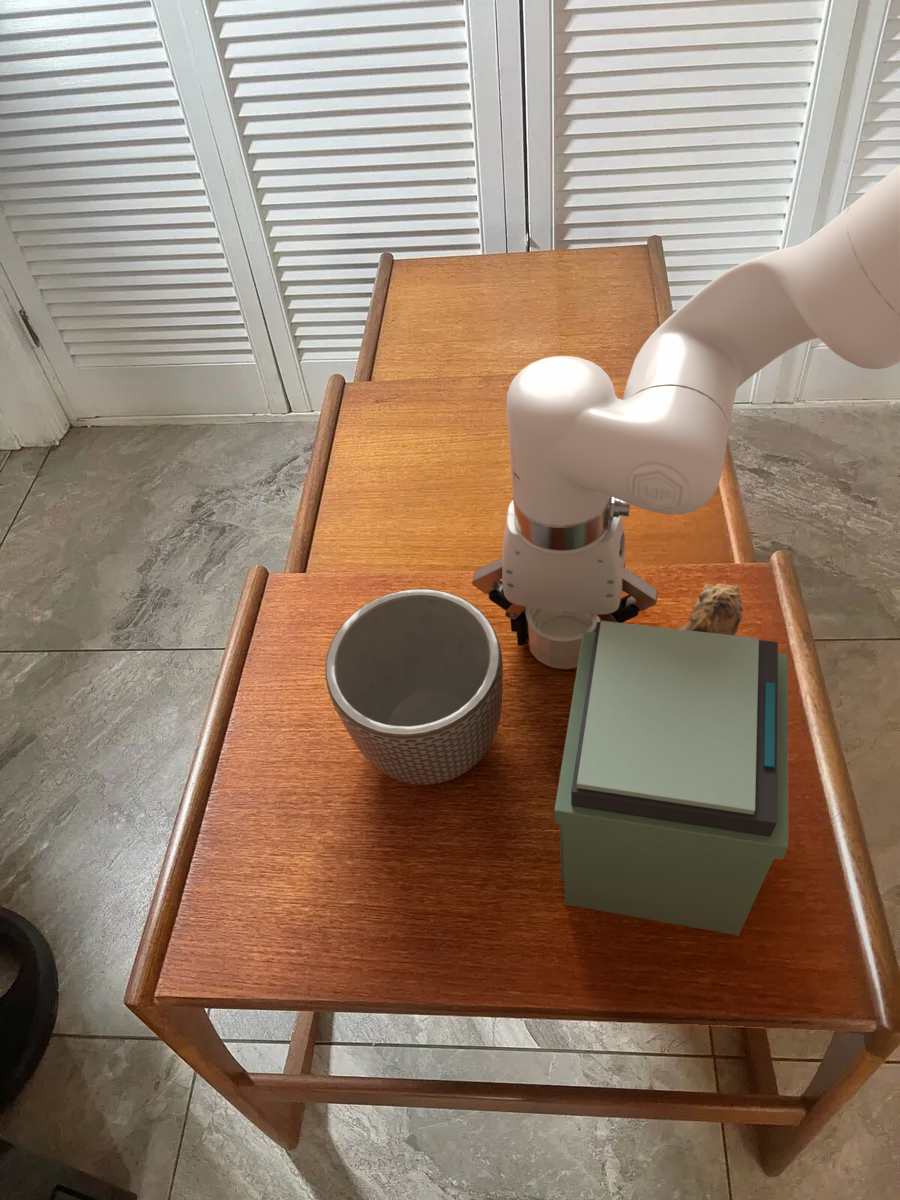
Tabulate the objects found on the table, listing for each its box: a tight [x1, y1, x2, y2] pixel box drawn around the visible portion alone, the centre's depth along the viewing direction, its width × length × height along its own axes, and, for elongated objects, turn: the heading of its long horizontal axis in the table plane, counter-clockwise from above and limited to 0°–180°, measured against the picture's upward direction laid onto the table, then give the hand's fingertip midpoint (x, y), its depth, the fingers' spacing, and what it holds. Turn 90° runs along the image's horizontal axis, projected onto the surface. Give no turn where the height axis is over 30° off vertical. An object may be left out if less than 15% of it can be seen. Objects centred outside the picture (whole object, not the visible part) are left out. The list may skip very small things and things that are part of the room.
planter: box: [324, 588, 504, 786], centre depth 75 cm, size 14×14×13 cm
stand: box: [553, 631, 789, 936], centre depth 66 cm, size 14×14×17 cm
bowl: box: [525, 607, 601, 670], centre depth 83 cm, size 7×7×5 cm
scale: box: [571, 621, 779, 837], centre depth 58 cm, size 12×13×3 cm
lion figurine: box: [679, 583, 744, 636], centre depth 78 cm, size 15×5×9 cm, turn 121°
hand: (564, 637), depth 84 cm, fingers closed on bowl, 6 cm apart
